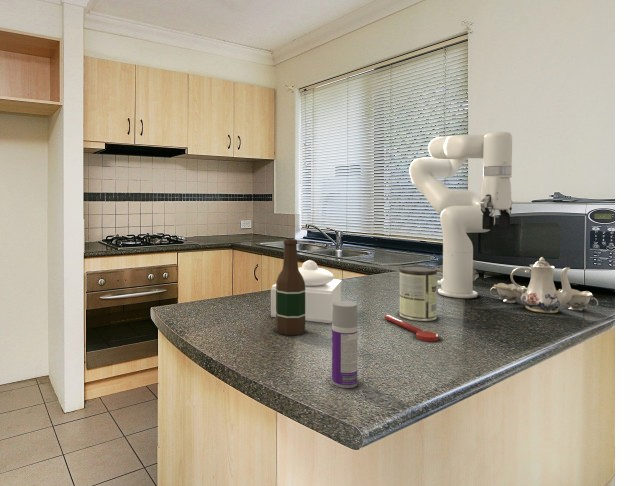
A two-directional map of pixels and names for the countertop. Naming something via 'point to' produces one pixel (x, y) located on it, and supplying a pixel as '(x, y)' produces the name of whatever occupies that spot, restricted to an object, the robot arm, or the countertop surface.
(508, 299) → the chinaware
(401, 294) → the coffee can
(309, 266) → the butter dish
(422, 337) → the red spoon
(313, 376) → the countertop surface
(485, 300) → the countertop surface
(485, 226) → the robot arm
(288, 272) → the beer bottle
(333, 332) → the container
